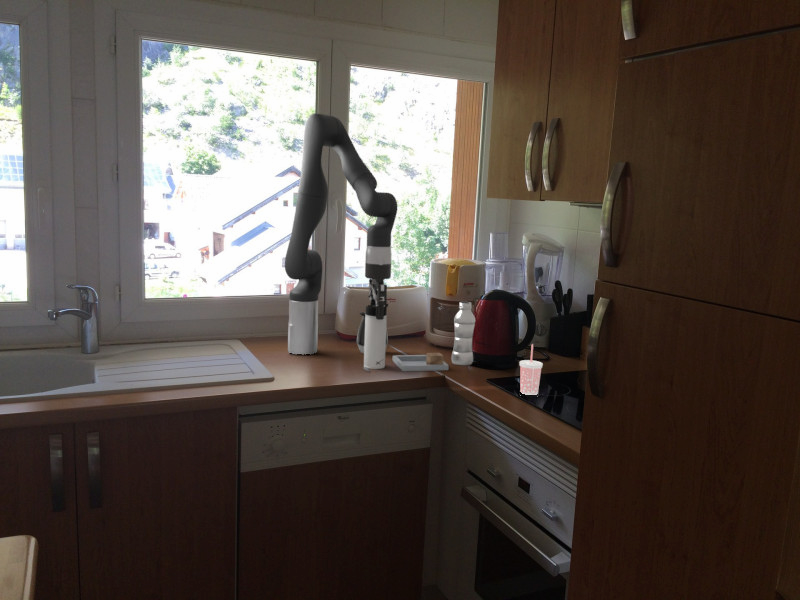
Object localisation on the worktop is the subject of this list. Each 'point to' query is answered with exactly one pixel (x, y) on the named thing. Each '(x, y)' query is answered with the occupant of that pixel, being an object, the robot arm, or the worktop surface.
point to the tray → (416, 363)
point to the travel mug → (374, 339)
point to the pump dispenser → (362, 334)
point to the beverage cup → (530, 375)
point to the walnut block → (434, 359)
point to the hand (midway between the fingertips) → (376, 316)
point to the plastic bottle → (463, 335)
